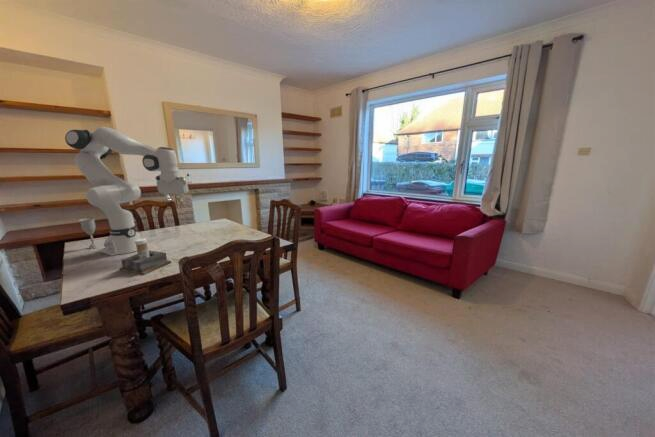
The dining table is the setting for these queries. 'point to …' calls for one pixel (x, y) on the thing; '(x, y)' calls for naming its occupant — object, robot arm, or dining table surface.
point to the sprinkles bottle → (142, 248)
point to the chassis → (144, 263)
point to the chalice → (89, 229)
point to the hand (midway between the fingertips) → (175, 201)
